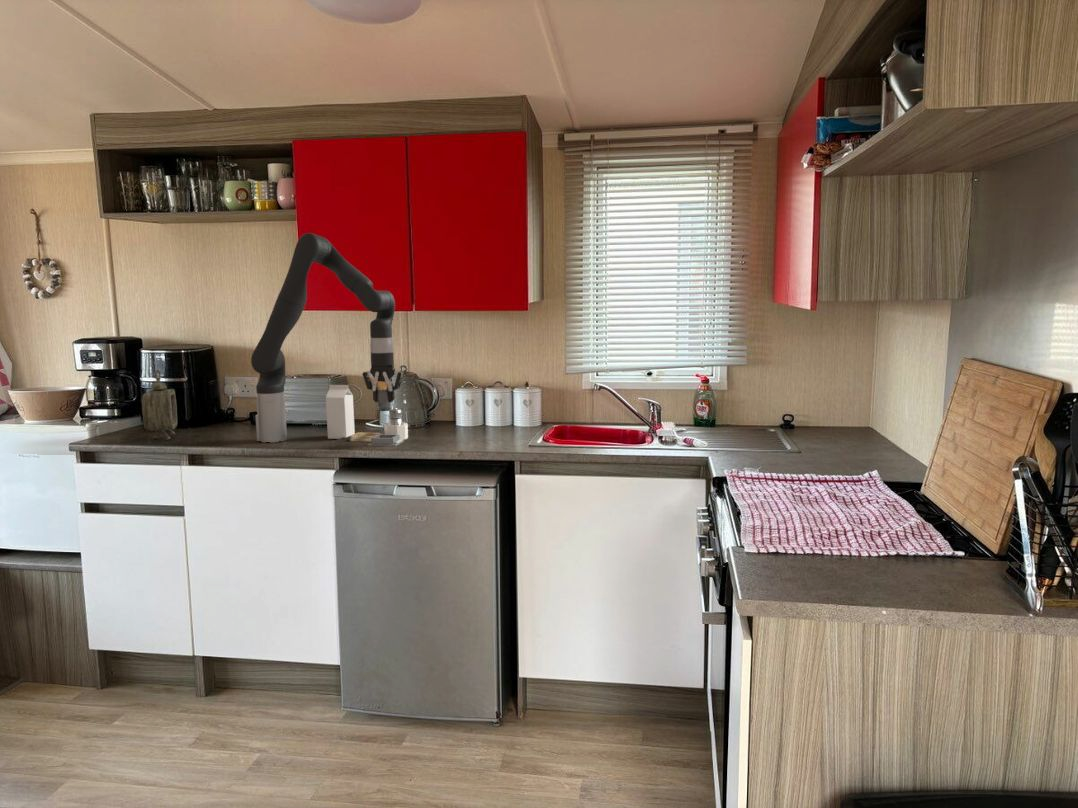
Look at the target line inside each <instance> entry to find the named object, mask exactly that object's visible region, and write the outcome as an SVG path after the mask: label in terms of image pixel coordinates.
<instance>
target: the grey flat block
mask: <svg viewBox="0 0 1078 808" xmlns="http://www.w3.org/2000/svg"><path fill="white" fill-rule="evenodd" d="M402 443H405V439H404V440H400V435H399V434H385V433H382V434H378V435H376V436H374V437H372V438H371V441H370V442H369V443H367V444H366V446H370V447H397V446H398V445H401V444H402Z"/></svg>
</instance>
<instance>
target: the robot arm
mask: <svg viewBox="0 0 1078 808" xmlns="http://www.w3.org/2000/svg"><path fill="white" fill-rule="evenodd" d="M313 263H315V264H320V265H321V266H323V267H325V268H327V269H328V270H330V271H331V272H332V273H333V274H335V276H336V278H337V280H338V281H340V283H341V284H342V285H343V286H344V287H345V288H346V289H347V290H349V291H350V292H351V293H352V294H353V295H355V297H357V300H359V302H360V303H361V305H363V307H364V308H365V309H366V310H368V311H370V312H371V313H376V316H375V319H372V320H371V322H370V324H369V330H370V340H369V341H370V343H369V346H370V347H369V349H370V369H369V371H368V370H367V371H364V372H362V377H363V380H364V383H365V386H366V389H367V390H371V392H372V399H373V401H374V403H377V381H386V384H387V385H388V388H389V402H391V403H393V402H394V401H395V398H396V397H395V391H396V390H398V389H400V388H401V384H402V379H403V376H404V372H403V371H398V370H396V368H395V359H394V358H395V357H394V354H395V353H394V350H395V347H394V341H393V329H392V328H393V327H392V324H393V320H394V314H395V311H396V300H395V298H394V295H393V293H391V291H389V290H376V289H374V284H373V282H372V280H370V279H369V278H368V277H367V276H366V275H365V274H363V273H362V272H361V271H360V270H359V269H357V268H356V267H355V266H354V265H353V264H351V263H350V262H349V261H348V260H347V259H345V257H343V255H341V253H340V252H339V251H338V250H337V249H336V247H334V245H333V244H332V243H331V242H330V241H329V240H328V239H327V238H326V237H324V236H321V235H317V234H315V233H312V232H307V233H306V232H305V233H303V234H302V235H301V236H300V237H299V239H298V241H297V243H296V246H295V248H294V251H293V254H292V258H291V261H290V265H289V268H288V271H287V274H286V275H285V279H284V281H283V284H282V286H281V289H280V291H279V293H278V296H277V298H276V300H275V303H274V305H273V309H272V311H271V313H270V316H269V318H268V321H267V324H266V327H265V328H264V332H262V333H263V334H262V335H261V338H260V339H259V341H258V343H257V345H256V347H255V349H254V351H253V352H252V354H251V358H250V364H251V367H252V369H253V370H254V371H255V373H258V374H259V379H258V381H257V383H256V386H255V389H256V407H257V414H255V430H256V442H257V441H261V443H266V442H270V443H278V442H279V441H281V442H284V441H286V440H288V433H287V431H288V430H287V418H286V415H287V414H286V401H285V397H286V396H285V384H286V358H285V354H284V352H283V351H282V350H281V349H282V347H283V344H284V341H285V339H286V338H287V337H288V335H289V334H290V333H291V331H292V330H293V329H294V327H295V326H296V325H297V323H298V321H299V319H300V318H301V315H302V313H303V311H304V309H305V306H306V304H307V299H308V294H307V293H308V292H307V291H308V290H307V277H308V274H309V271H310V269H311V267H312V264H313ZM394 375H395V378H396V379H395V383H394V379H393V377H394ZM371 376H372V377H373V382H372V380H371ZM279 443H280V442H279Z"/></svg>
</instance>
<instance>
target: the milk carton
mask: <svg viewBox="0 0 1078 808" xmlns="http://www.w3.org/2000/svg"><path fill="white" fill-rule="evenodd" d="M325 407H326V409H325V411H326V425H327V426H326V427H327V428H326V429H327V439H330V440H333V439H334V440H335V439H336V440H340V439H342V438H348V437H350V436H351V435H353V434H355V432H356V430H355V414H354V411H355V409H354V394H353V393H352V391H351V390H350V387H349V385H348V384H329V388H328V391H327V393H326V396H325Z"/></svg>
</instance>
